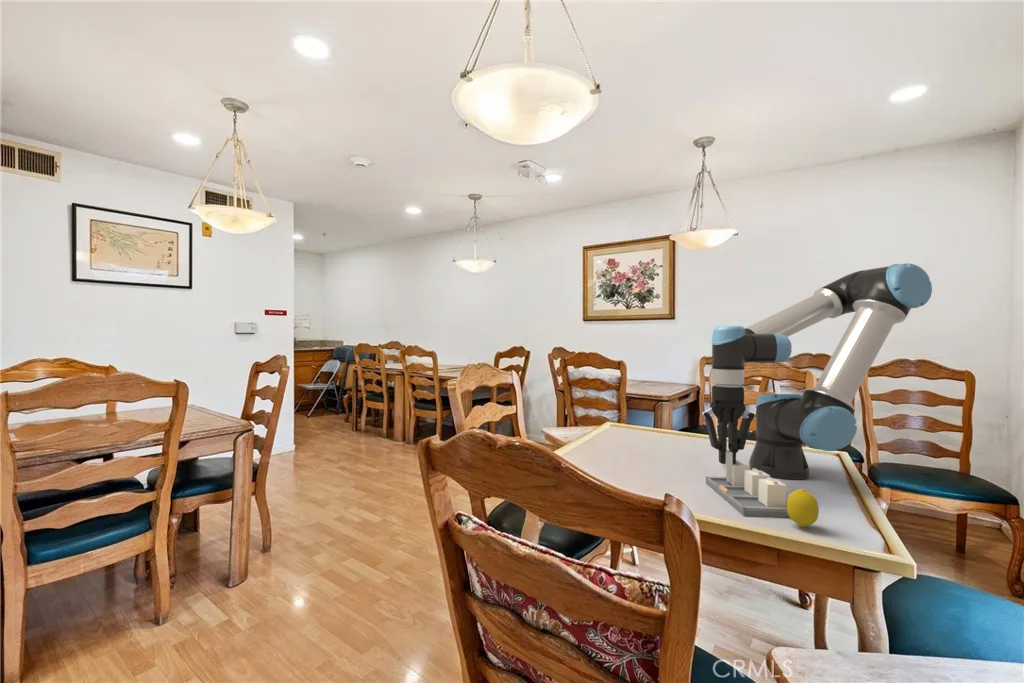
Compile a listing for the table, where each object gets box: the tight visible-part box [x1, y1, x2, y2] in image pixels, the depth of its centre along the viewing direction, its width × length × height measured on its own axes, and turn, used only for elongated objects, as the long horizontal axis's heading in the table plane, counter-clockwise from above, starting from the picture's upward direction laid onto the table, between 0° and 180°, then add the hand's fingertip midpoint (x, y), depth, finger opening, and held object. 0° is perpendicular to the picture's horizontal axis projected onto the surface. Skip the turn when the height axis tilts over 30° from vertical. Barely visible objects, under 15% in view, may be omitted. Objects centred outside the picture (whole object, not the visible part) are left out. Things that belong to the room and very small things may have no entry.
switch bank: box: [705, 476, 791, 519], centre depth 106 cm, size 11×22×2 cm, turn 176°
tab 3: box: [758, 476, 787, 508], centre depth 99 cm, size 4×4×6 cm
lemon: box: [786, 488, 820, 528], centre depth 90 cm, size 6×6×8 cm
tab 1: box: [727, 459, 751, 486], centre depth 113 cm, size 4×4×6 cm
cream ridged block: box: [744, 468, 771, 496], centre depth 106 cm, size 4×4×6 cm
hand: (727, 476), depth 114 cm, fingers closed
